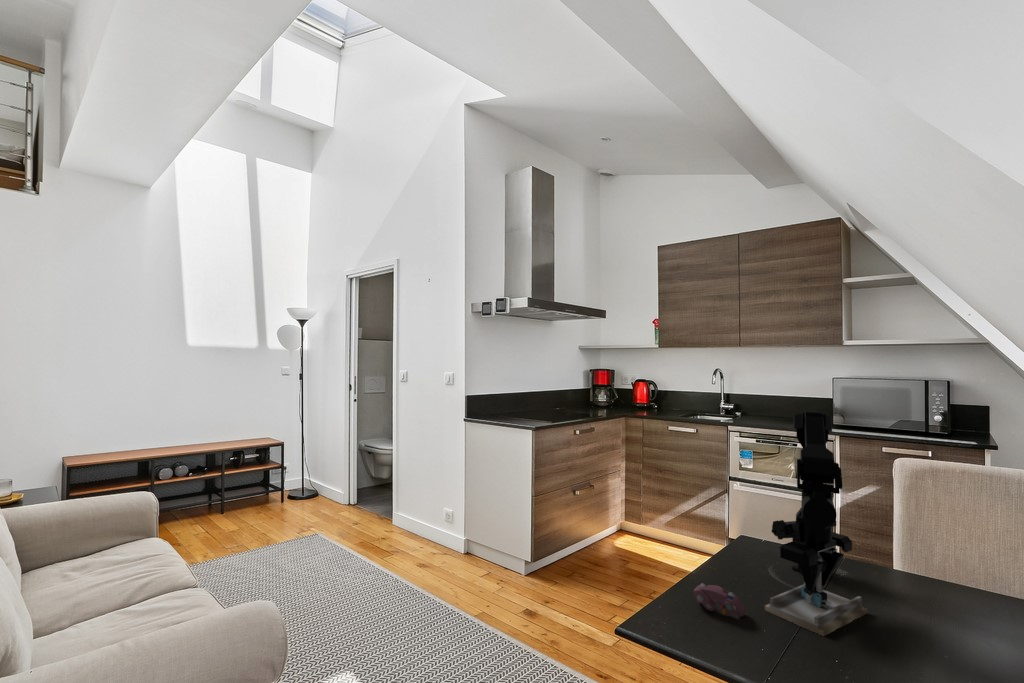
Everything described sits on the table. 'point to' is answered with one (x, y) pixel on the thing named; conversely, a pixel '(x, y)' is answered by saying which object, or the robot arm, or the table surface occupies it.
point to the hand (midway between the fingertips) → (816, 587)
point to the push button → (816, 590)
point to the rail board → (816, 611)
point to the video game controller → (718, 599)
